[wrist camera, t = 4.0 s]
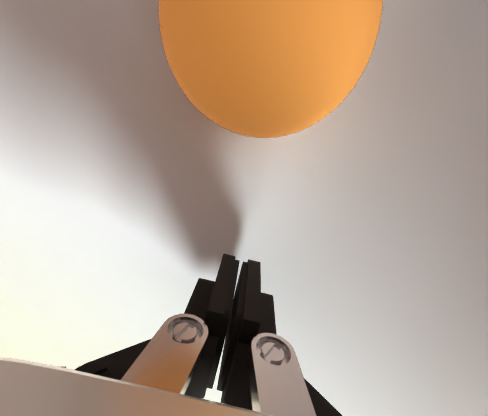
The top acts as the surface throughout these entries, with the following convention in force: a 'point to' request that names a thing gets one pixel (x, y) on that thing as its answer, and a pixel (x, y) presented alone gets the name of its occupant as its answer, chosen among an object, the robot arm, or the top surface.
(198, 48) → the ball
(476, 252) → the top surface
